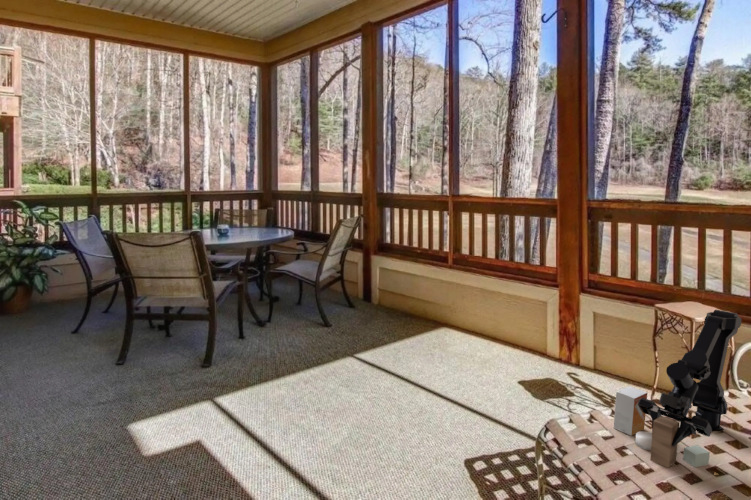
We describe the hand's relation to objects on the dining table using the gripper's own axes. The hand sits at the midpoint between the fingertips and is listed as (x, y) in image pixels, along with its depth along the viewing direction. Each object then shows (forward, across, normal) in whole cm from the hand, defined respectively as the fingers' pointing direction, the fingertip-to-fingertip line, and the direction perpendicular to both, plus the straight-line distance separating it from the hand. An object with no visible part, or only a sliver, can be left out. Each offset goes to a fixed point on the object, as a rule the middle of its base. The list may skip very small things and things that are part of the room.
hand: (662, 441), depth 142 cm
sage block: (-1, +6, +11) cm, 12 cm away
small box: (-4, -15, +13) cm, 21 cm away
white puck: (0, -7, +9) cm, 12 cm away
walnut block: (+4, 0, +6) cm, 7 cm away
